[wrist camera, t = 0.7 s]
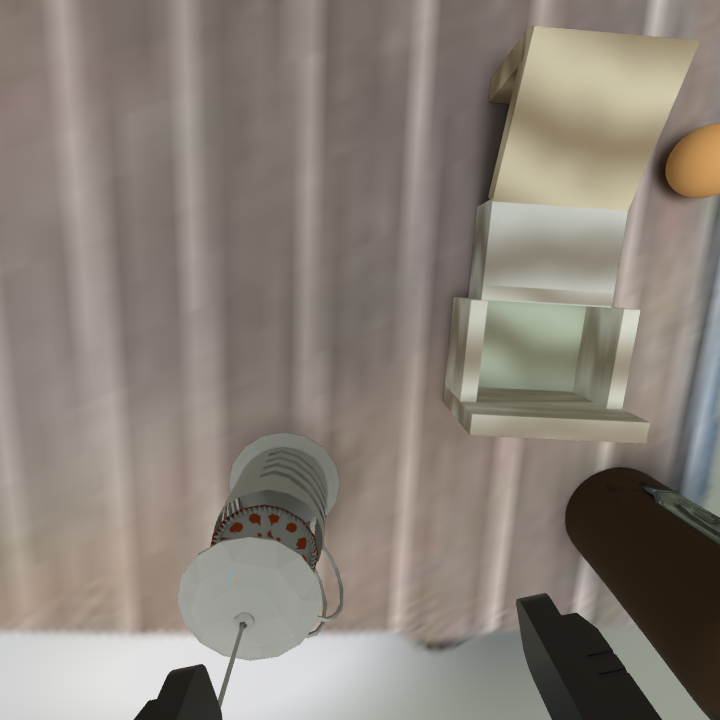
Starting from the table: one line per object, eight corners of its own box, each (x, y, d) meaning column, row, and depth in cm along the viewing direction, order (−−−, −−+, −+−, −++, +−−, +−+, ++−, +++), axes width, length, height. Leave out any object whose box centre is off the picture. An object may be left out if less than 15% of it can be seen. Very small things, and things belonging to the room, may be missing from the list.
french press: (284, 409, 36) (153, 689, 12) (376, 498, 38) (431, 900, 13) (205, 483, 37) (-68, 883, 13) (298, 566, 39) (219, 1055, 14)
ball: (656, 134, 33) (711, 108, 28) (717, 138, 33) (782, 114, 28) (644, 201, 34) (695, 188, 29) (704, 205, 34) (764, 193, 29)
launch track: (475, 76, 32) (519, 9, 24) (635, 89, 32) (728, 28, 24) (443, 401, 36) (469, 435, 28) (582, 408, 37) (646, 443, 29)
